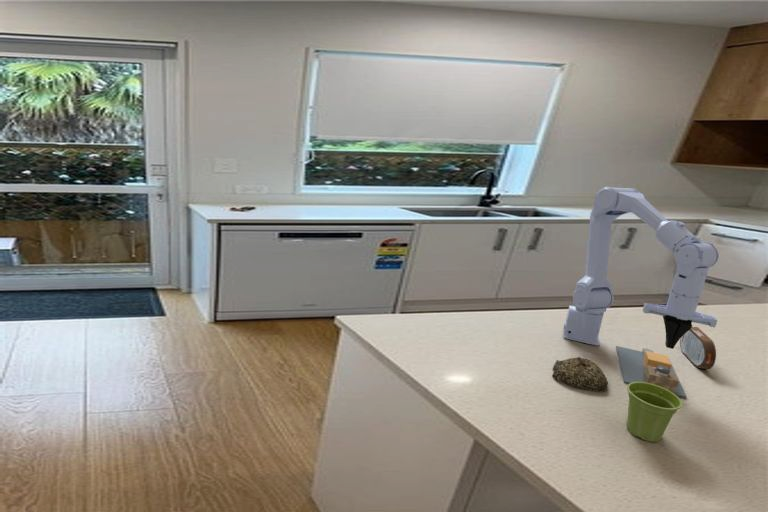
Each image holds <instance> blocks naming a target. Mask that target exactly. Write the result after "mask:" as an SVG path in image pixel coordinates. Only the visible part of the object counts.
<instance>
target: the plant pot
mask: <svg viewBox="0 0 768 512" xmlns="http://www.w3.org/2000/svg"><path fill="white" fill-rule="evenodd" d="M626 390H627V393H628V398H629V399H628V409H627V421H626V429H628V431H629V432H630V433H631V434H632V435H633V436H635V437H639V438H641V439H642V440H644V441H646V442H652V443H653V442H654V443H655V442H659V441H660V440H661V439H662V438H663V436H664V434H665V432H666V430H667V427H669V424H670V422H671V420H672V418H673V416H674V415H675V414H676V413H677V411H678V410H681V408H682V407H683V402H682V399H680V397H677V396H676V395H675V394H674V393H672V392H670V391H669V390H667V389H665V388H662V387H660V386H657V385H654V384H650V383H646V382H632V383H630V384H627V386H626Z"/></svg>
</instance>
